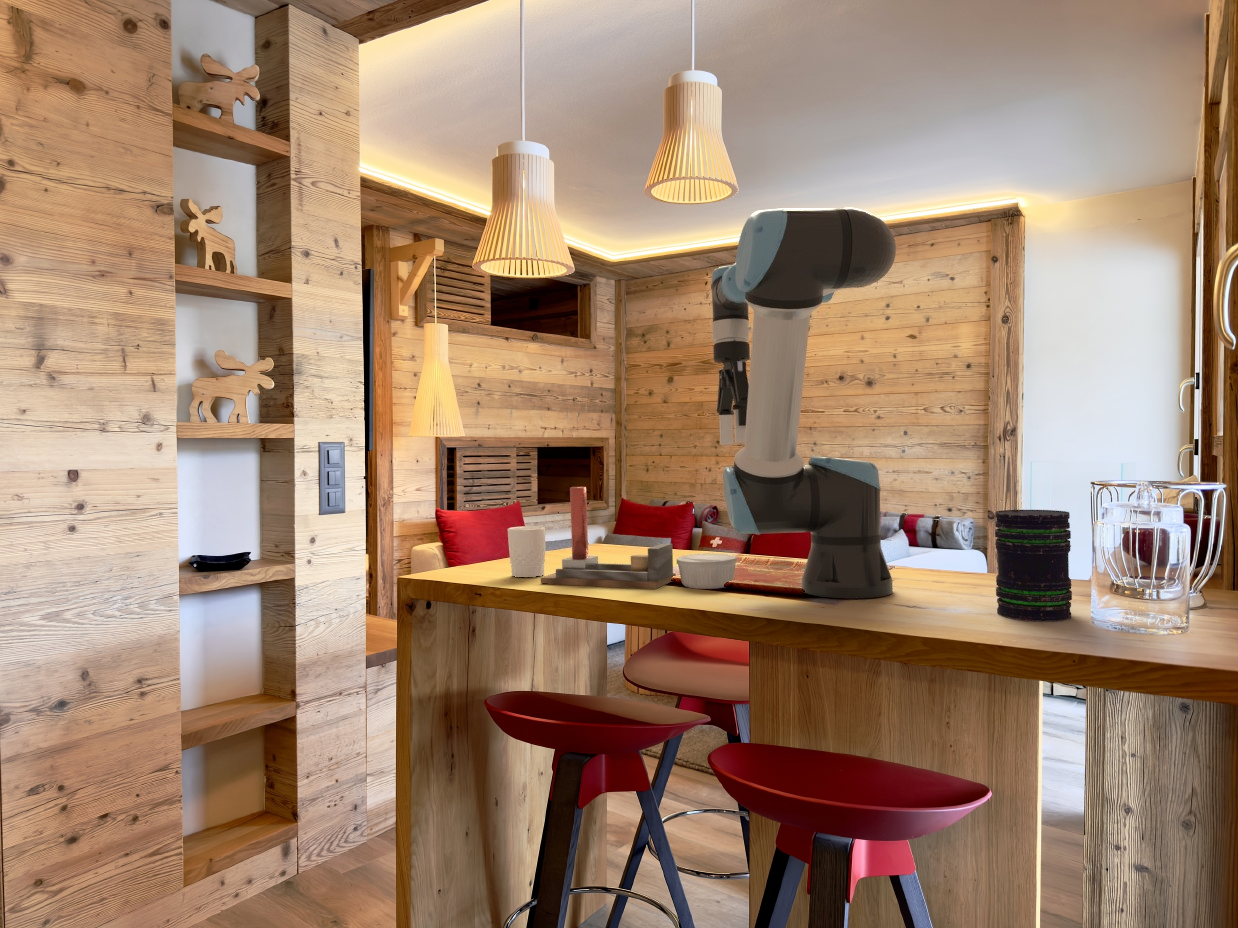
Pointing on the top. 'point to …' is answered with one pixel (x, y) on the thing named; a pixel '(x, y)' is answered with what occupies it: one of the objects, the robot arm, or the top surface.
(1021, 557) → the dark brown cylinder
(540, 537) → the white cup
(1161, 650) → the top surface
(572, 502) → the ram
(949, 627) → the top surface
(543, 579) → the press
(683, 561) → the ramekin
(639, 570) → the nut
